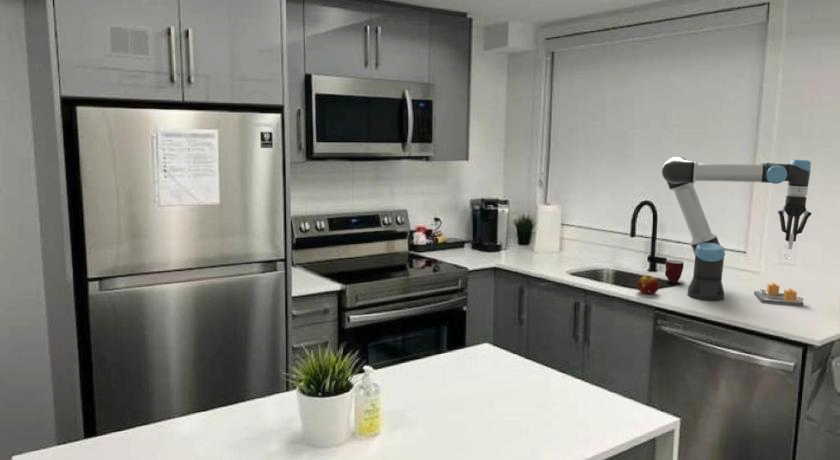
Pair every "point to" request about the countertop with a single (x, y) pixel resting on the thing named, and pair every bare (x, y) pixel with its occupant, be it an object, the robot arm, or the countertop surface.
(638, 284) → the fruit
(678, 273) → the mug
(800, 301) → the switch board
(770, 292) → the tab back
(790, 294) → the tab front
